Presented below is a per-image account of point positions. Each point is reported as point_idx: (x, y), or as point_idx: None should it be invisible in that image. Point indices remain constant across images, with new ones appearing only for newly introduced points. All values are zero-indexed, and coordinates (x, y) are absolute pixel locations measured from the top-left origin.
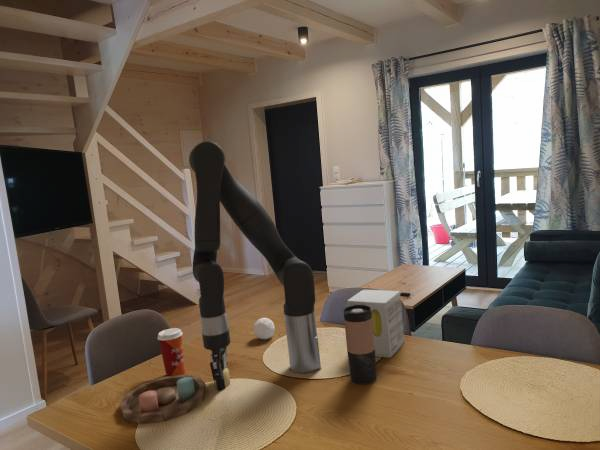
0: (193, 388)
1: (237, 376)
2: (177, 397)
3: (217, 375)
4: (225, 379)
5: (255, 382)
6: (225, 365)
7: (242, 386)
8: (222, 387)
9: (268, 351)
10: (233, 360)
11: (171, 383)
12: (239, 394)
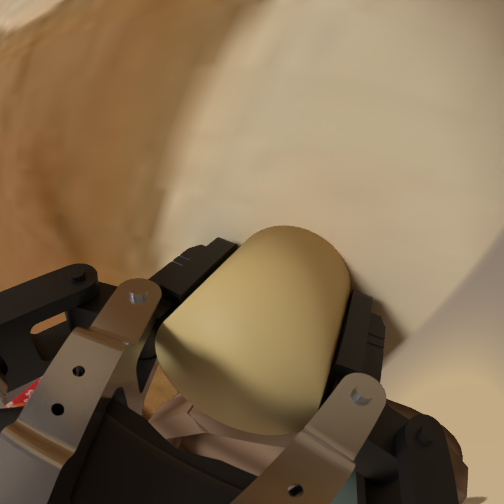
0: (355, 491)
1: (153, 148)
2: None
3: (394, 477)
4: (331, 329)
5: (326, 11)
6: (142, 336)
7: (354, 133)
8: (382, 337)
9: (10, 14)
10: (19, 162)
11: (178, 438)
12: (486, 201)
